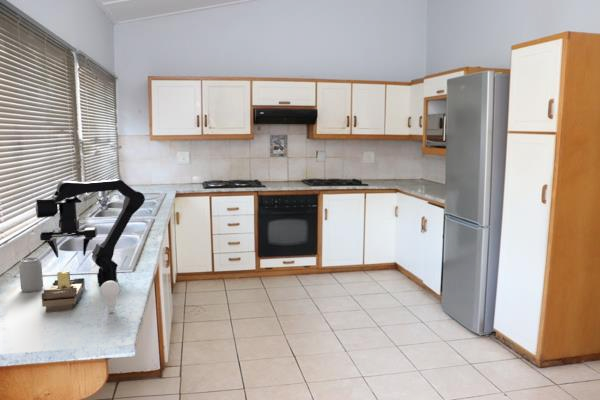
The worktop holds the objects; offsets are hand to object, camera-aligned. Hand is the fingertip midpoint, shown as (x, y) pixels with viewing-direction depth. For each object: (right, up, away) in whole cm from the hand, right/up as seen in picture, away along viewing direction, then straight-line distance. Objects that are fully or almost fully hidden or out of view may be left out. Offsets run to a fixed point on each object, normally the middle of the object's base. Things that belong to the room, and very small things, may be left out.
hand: (71, 256), depth 186 cm
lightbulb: (+23, -17, -20) cm, 35 cm away
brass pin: (+2, -15, -9) cm, 17 cm away
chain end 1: (+3, -15, -12) cm, 19 cm away
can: (-15, -13, +2) cm, 20 cm away
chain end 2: (+1, -14, -6) cm, 15 cm away
